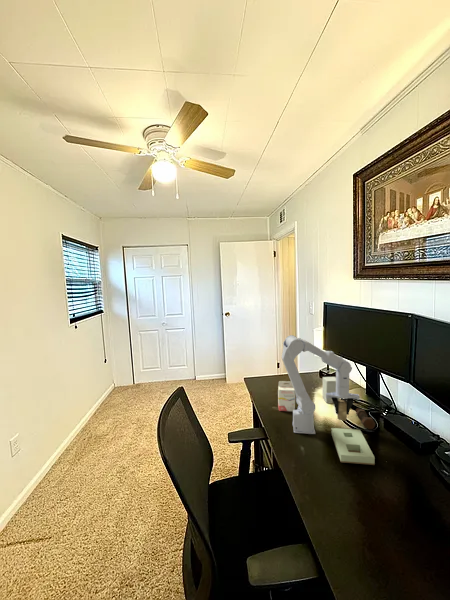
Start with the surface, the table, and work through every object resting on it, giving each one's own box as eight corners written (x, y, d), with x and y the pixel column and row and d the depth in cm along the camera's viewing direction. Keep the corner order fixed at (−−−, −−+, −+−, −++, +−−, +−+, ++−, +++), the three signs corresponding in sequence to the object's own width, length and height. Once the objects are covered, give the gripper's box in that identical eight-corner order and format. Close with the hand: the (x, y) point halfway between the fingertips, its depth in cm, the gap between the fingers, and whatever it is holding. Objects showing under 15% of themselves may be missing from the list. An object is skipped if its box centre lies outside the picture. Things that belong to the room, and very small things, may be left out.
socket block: (340, 462, 113) (340, 454, 113) (331, 434, 133) (331, 428, 133) (374, 464, 111) (374, 457, 111) (359, 436, 131) (360, 429, 131)
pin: (338, 420, 137) (338, 403, 136) (336, 416, 141) (336, 399, 140) (347, 420, 136) (347, 404, 136) (345, 416, 140) (345, 400, 139)
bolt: (360, 417, 151) (370, 432, 137) (351, 412, 152) (360, 426, 137) (366, 408, 151) (377, 421, 136) (357, 403, 151) (367, 416, 136)
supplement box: (339, 403, 165) (339, 381, 163) (326, 403, 165) (326, 381, 164) (335, 397, 172) (335, 376, 171) (322, 397, 172) (322, 376, 171)
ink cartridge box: (278, 411, 157) (278, 384, 156) (278, 407, 162) (277, 380, 161) (295, 411, 156) (295, 384, 155) (294, 407, 161) (293, 381, 160)
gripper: (356, 382, 140) (356, 410, 141) (324, 381, 142) (324, 408, 143) (360, 388, 133) (360, 417, 134) (327, 386, 135) (326, 415, 137)
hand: (342, 413), depth 138 cm, fingers closed on pin, 4 cm apart
